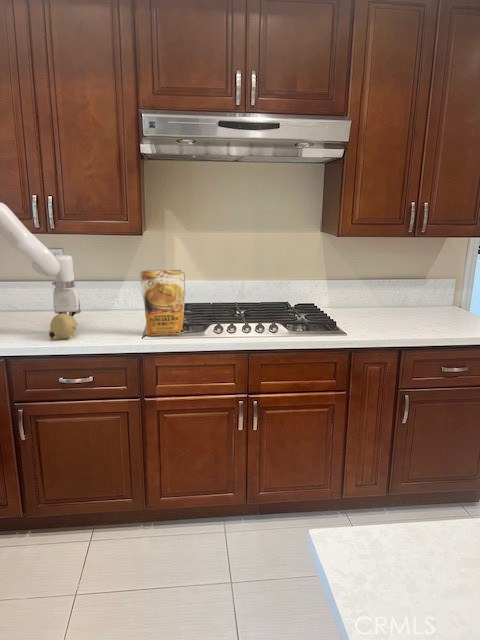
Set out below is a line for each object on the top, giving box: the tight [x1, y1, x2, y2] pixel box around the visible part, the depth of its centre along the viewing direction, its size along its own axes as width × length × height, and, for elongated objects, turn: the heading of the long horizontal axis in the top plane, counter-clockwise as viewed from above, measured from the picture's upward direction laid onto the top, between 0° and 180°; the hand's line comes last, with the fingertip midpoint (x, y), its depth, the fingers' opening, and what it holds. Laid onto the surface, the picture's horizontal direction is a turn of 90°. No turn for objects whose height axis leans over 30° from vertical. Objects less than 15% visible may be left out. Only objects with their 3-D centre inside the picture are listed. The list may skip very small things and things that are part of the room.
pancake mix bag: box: [139, 269, 186, 337], centre depth 200 cm, size 7×19×28 cm, turn 102°
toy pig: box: [48, 313, 79, 341], centre depth 194 cm, size 10×12×11 cm
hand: (69, 326), depth 201 cm, fingers closed
